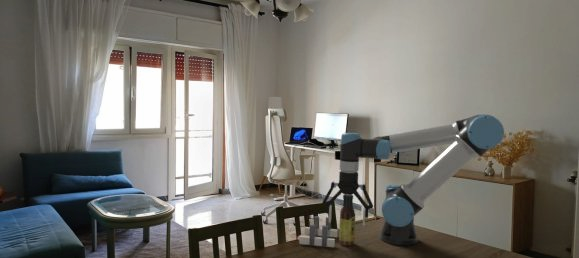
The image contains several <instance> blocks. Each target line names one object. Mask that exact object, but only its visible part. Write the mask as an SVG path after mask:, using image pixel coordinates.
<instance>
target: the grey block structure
mask: <svg viewBox="0 0 579 258" xmlns="http://www.w3.org/2000/svg"><path fill="white" fill-rule="evenodd" d="M331 224H332V223H329V216H327V217H325V225H322V227H320V216H316V215H315V216H314V217H313V224H312V223H310V224H309V227H308V226H305V227H304V235H310V237H308V236H300V235H299V236H300V241H298V242H299V245H303V246H305V245H306V246H307V245H308V246H316V247H327V248H328V247H329V248H335V247H336V246H335V243H336V241H335V240H336V239H335V238H338V229H335V228H331V226H332V225H331Z"/></svg>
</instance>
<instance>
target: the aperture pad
mask: <svg viewBox="0 0 579 258" xmlns="http://www.w3.org/2000/svg"><path fill="white" fill-rule="evenodd" d="M300 236H308V237H310V235H305V234H300V235H298V236H297V237H296V238H297V240H298V242H300Z"/></svg>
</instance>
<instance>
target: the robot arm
mask: <svg viewBox="0 0 579 258" xmlns="http://www.w3.org/2000/svg"><path fill="white" fill-rule="evenodd" d="M504 137H505V128H504V126H503V124H502V122H501V121H500V119H498V118H496V117H495V116H493V115H491V114H477V115H473V116H470V117H467V118H463V119H459V120H454V122H453V123H451V124H446V125H445V124H444V125H440V126H434V127H429V128H423V129H417V130H412V131H405V132H400V133H395V134H389V135H383V136H375V137H374V138H372V139H371V138H369V139H368V138H362V137H361V135H360V133H356V132H344V133H342V134H341V137H340V138H341V139H340V151H339V152H340V155H339V170H340V171H339V172H338V173H339V175H338V182H335V181H331V183H330V188H329V189H328V191H327V193H326V195H325V196H324V198H323V200H322V202H321V204H322V205H325V207H326V209H325V210H326V214H327V215H328V217H329V223H331V222H332V203H334V201H335V200H336V199H337V198H338V197H339V196H341V195H342V194H343V195H344V194H349V195H353V196H355V197H356V198H357V200H358V201H359V202H360V204H361V205H362V207H364V208H363V211H362V226H363V227H365V223H366V218H368V217H369V210H370V209H373V208H374V205H373V204H374V203H373V202H372V200H371V197H370V195H369V194H368V190H367V186H366V184H365V183H362V184H359V166H360V163H359V162H360V158H366V159H376V160H388V159H390V157H391V154H393V153H399V152H406V151H412V150H420V149H425V148H426V149H427V148H431V147H440V146H444V145H445V146H446V145H449V146H447V148H445V150H444V151H442V152H441V153H440V154H439V155H438V156H436V158H435V159H434V160H432V161H431V163H429V164H428V165H427V166H426V167H425V168H424V169H423V170H422V171H421V172H419V173H418V174H417V175H416V176H415V177H414V178H413V179H412V180H411V181H410V182H409V183H408V184H401V185H399V184H388V185H386V187H385V188H386V189H385V199H384V201H383V203H382V205H381V214H382V217H383V218H384V222H383V224H382V227H381V230H380V234H379V235H380V237H379V239H381V240H382V241H383V242H385V243H388V244H391V245H394V246H395V245H397V246H411V245H416V244H417V243H418V234H417V230H416V227H415V223H414V221H415V220H414V219H415V216H416V215H417V214H418V213H420V212H421V211H422V210H423V209H424V208H425V201H426V200H427V199H429V198H431V196H432V195H433V194H434V193H435V192H437V190H439V189H440V188H441V187H442V186H443V185H444V184H445V183H447V182H448V181H449V180H450V179H451V178H452V177H453V176H455V175H456V174H457V173H458V172H459V171H460V170H462V168H463V167H464V166H466V165H467V164H468V163H469V162H470V161H472V159H474V158H482V157H483V156H484V155H485V154H486V153H487V152H488V151H489V150H491V149H494V148H495V147H497V146H498V145H499V144H500V143H502V141H503V139H504ZM336 187H338V188H339V190H338V191H337V192H336V193H335V194H334V195H333V196H332V197H331V198H330V199H329V197H330V196H331V194H332V192H333V191H334V189H335V188H336ZM358 189H360V190H361V191H362V192H363V194H364V197H365V199H366V201H365V200H364V199H363V197H362V196H361V194H360V193H359V192H358ZM328 199H329V200H328ZM331 224H332V223H331Z"/></svg>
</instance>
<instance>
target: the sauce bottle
mask: <svg viewBox="0 0 579 258" xmlns="http://www.w3.org/2000/svg"><path fill="white" fill-rule="evenodd" d="M342 201H343V203H342V205H343V206H342V207H341V209H340V212H339V214H340V215H339V216H340V217H339V229H338V231H339V232H338V233H339V236H338V239H339V240H338V242H339V244H340V245H342V246H347V247H348V246H353V245H354V244H355V240H356V239H355V238H356V213H355V209H354V205H353V204H354V202H353V201H354V194H352V195H349V194H343V195H342Z"/></svg>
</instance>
